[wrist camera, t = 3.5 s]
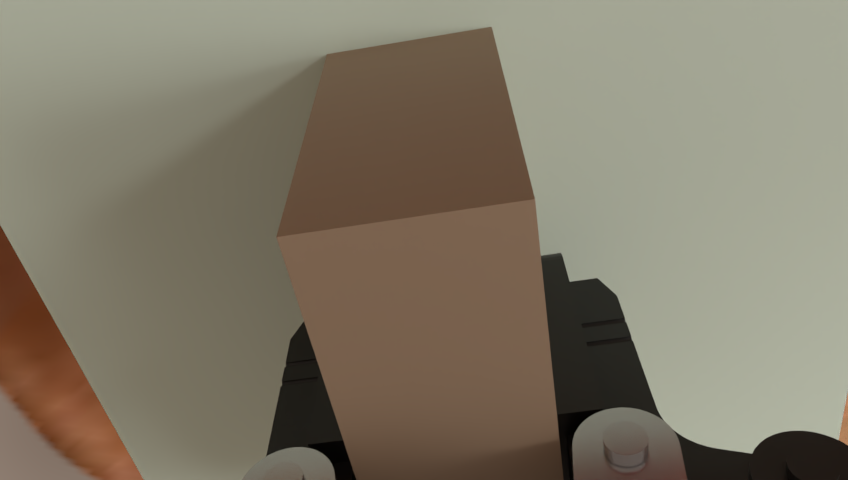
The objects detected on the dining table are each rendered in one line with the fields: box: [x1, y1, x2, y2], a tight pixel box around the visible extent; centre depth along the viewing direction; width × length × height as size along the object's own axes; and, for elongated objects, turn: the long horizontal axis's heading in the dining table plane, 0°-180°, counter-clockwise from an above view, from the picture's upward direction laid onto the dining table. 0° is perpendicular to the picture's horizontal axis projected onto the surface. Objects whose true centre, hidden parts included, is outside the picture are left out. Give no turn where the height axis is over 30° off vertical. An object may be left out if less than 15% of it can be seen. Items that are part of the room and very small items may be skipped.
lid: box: [0, 0, 848, 480], centre depth 13 cm, size 15×15×7 cm
